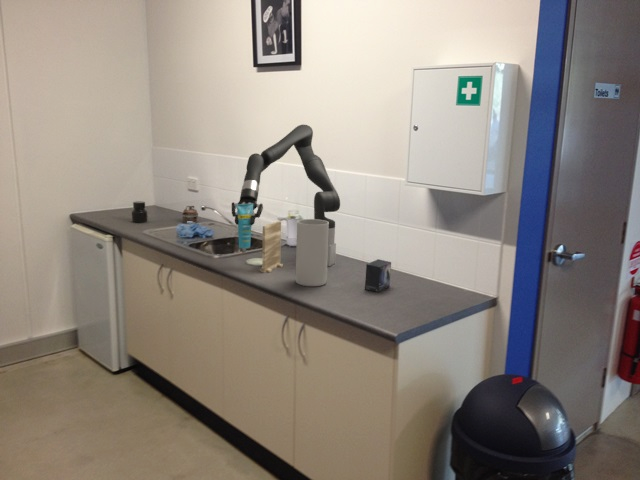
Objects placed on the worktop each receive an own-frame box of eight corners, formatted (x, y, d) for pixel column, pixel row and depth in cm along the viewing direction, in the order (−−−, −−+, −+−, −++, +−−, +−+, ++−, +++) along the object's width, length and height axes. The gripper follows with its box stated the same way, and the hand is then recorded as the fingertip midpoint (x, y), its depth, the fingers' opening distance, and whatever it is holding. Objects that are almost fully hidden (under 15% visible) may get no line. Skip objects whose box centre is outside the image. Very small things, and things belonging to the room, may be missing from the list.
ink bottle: (141, 219, 352) (141, 200, 350) (151, 221, 347) (150, 202, 345) (128, 221, 344) (127, 202, 342) (137, 223, 339) (136, 203, 337)
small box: (378, 292, 223) (380, 266, 220) (364, 289, 226) (365, 263, 224) (390, 286, 231) (392, 261, 229) (376, 283, 235) (377, 258, 232)
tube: (239, 249, 245) (239, 205, 241) (234, 247, 249) (234, 203, 245) (254, 247, 249) (255, 204, 245) (249, 245, 253) (250, 202, 249)
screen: (284, 266, 257) (284, 222, 252) (268, 273, 244) (269, 227, 240) (274, 264, 259) (275, 220, 254) (258, 271, 246) (258, 225, 242)
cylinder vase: (311, 276, 241) (313, 218, 236) (332, 283, 233) (335, 222, 227) (289, 281, 233) (290, 221, 227) (310, 289, 224) (312, 226, 219)
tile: (275, 261, 263) (275, 260, 263) (263, 267, 254) (263, 265, 253) (254, 258, 268) (254, 257, 268) (241, 263, 258) (241, 262, 258)
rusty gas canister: (180, 221, 352) (180, 205, 350) (196, 220, 356) (196, 204, 354) (183, 224, 344) (183, 207, 342) (199, 223, 348) (199, 207, 346)
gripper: (266, 198, 257) (261, 229, 248) (235, 197, 258) (228, 228, 249) (264, 188, 251) (259, 219, 241) (232, 186, 252) (225, 218, 242)
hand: (244, 223), depth 245 cm, fingers closed on tube, 5 cm apart
